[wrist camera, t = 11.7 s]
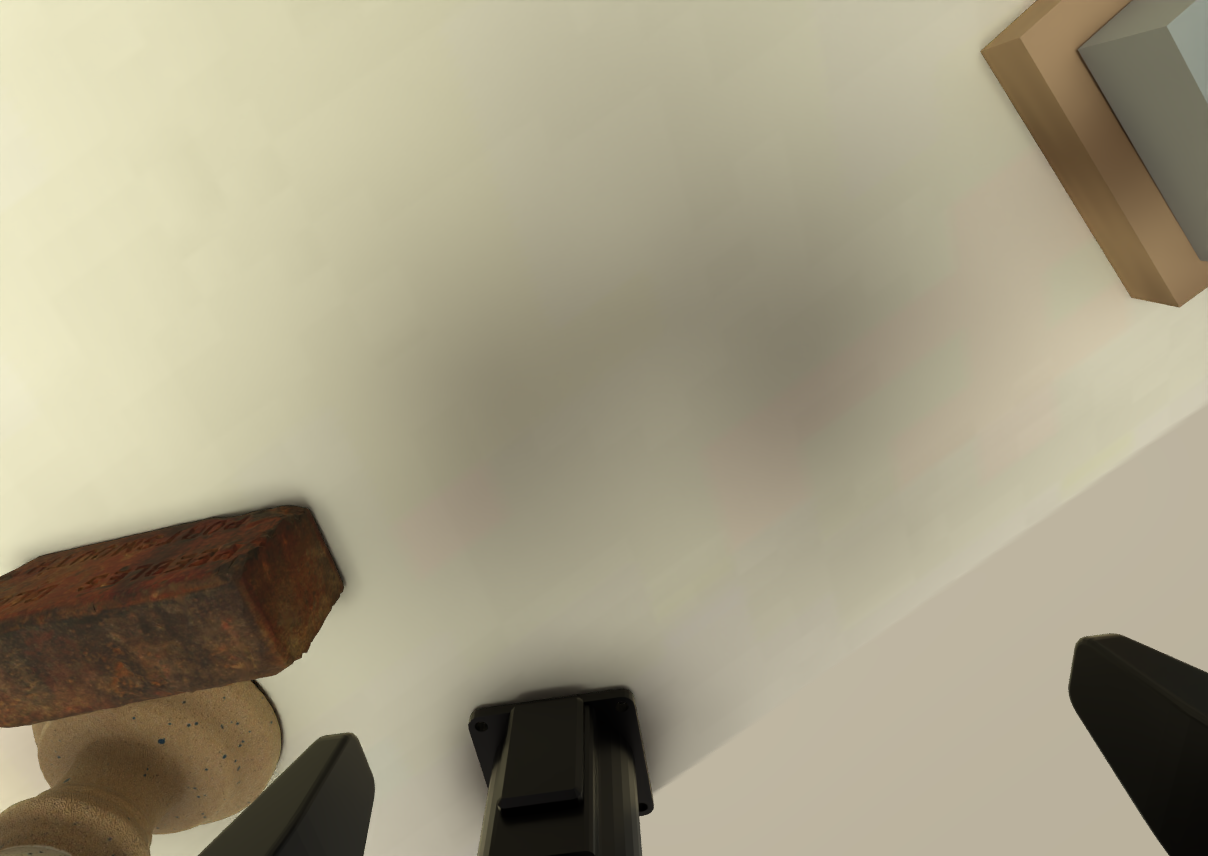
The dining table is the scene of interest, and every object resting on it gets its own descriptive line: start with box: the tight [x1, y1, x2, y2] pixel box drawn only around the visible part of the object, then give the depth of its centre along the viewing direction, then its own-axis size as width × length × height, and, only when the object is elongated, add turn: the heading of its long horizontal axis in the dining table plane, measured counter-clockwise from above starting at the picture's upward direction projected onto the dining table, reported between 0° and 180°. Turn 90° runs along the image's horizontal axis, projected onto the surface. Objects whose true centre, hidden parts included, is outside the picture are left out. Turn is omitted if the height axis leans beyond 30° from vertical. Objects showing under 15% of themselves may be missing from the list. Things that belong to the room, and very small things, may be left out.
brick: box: [0, 505, 344, 728], centre depth 20 cm, size 11×4×5 cm, turn 103°
